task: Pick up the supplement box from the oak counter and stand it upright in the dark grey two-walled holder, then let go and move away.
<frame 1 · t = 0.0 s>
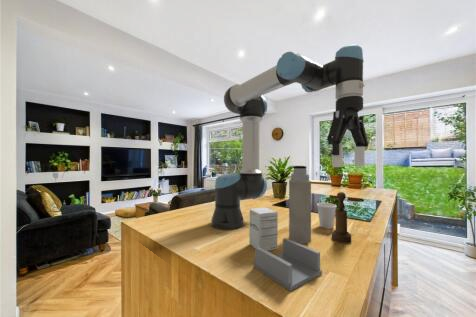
hand: (349, 166, 62), 28 cm above the kitchen island, tool pointing down, fingers open, 13 cm apart
dixie cup: (326, 227, 92), on the kitchen island
holder: (286, 270, 54), on the kitchen island
thermos bottle: (299, 239, 76), on the kitchen island
brown wooden turned piece: (341, 240, 76), on the kitchen island
supplement box: (263, 247, 70), on the kitchen island
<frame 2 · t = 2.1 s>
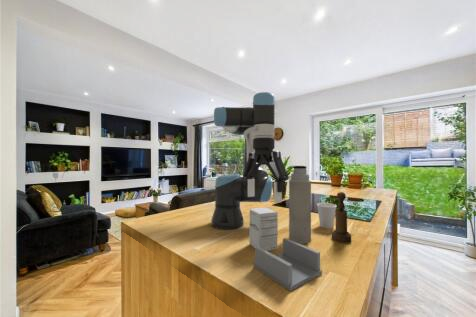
hand: (263, 199, 70), 16 cm above the kitchen island, tool pointing down, fingers open, 13 cm apart
nothing on the kitchen island moved.
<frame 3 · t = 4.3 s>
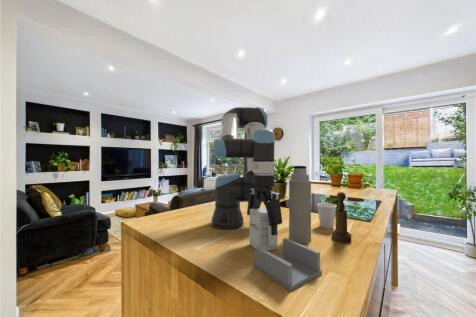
hand: (263, 240, 70), 2 cm above the kitchen island, tool pointing down, fingers closed on supplement box, 8 cm apart
supplement box: (263, 247, 70), on the kitchen island, touching gripper
everything else where it was.
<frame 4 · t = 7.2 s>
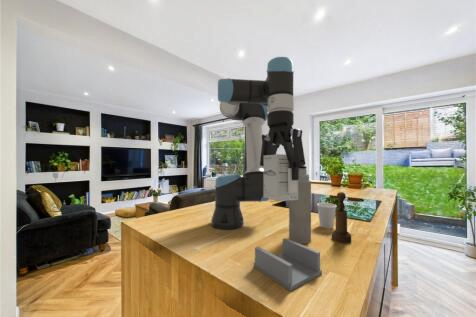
hand: (280, 190, 58), 21 cm above the kitchen island, tool pointing down, fingers closed on supplement box, 8 cm apart
supplement box: (280, 199, 58), point 19 cm above the kitchen island, touching gripper
everything else where it was.
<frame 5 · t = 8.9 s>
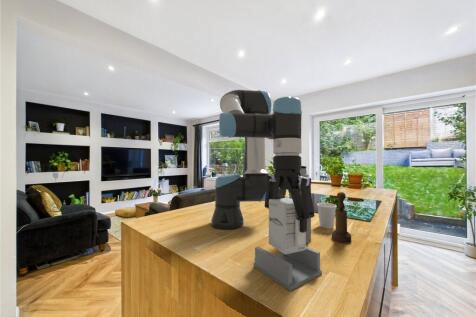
hand: (286, 238, 55), 8 cm above the kitchen island, tool pointing down, fingers closed on supplement box, 8 cm apart
supplement box: (286, 248, 54), point 6 cm above the kitchen island, touching gripper
everything else where it was.
when the fingers open (5 cm above the kitchen island, at t = 10.4 s): supplement box drops 1 cm, resting on holder.
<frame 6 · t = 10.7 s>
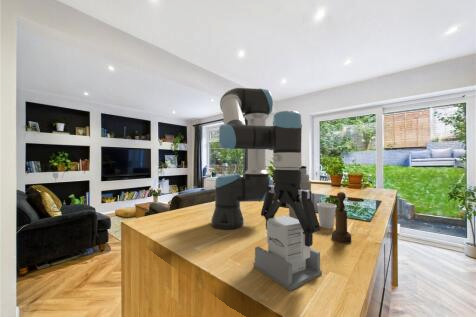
hand: (286, 249, 55), 6 cm above the kitchen island, tool pointing down, fingers open, 11 cm apart
supplement box: (286, 267, 54), point 1 cm above the kitchen island, touching holder
everything else where it was.
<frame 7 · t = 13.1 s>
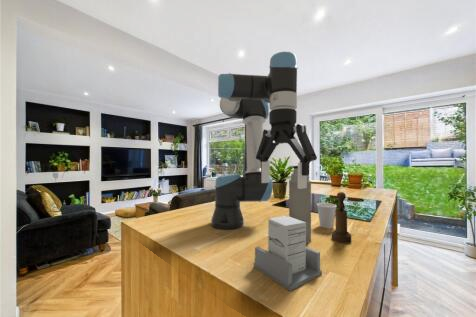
hand: (282, 185, 57), 23 cm above the kitchen island, tool pointing down, fingers open, 13 cm apart
nothing on the kitchen island moved.
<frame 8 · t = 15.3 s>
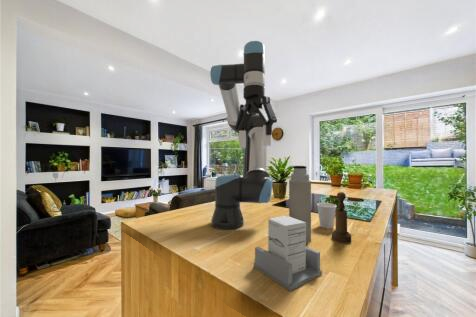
hand: (253, 146, 72), 35 cm above the kitchen island, tool pointing down, fingers open, 13 cm apart
nothing on the kitchen island moved.
at the end: supplement box 0.2 cm off-centre on the holder, point 0.8 cm above the holder's base; supplement box tilted 0°; the gripper is holding nothing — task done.
